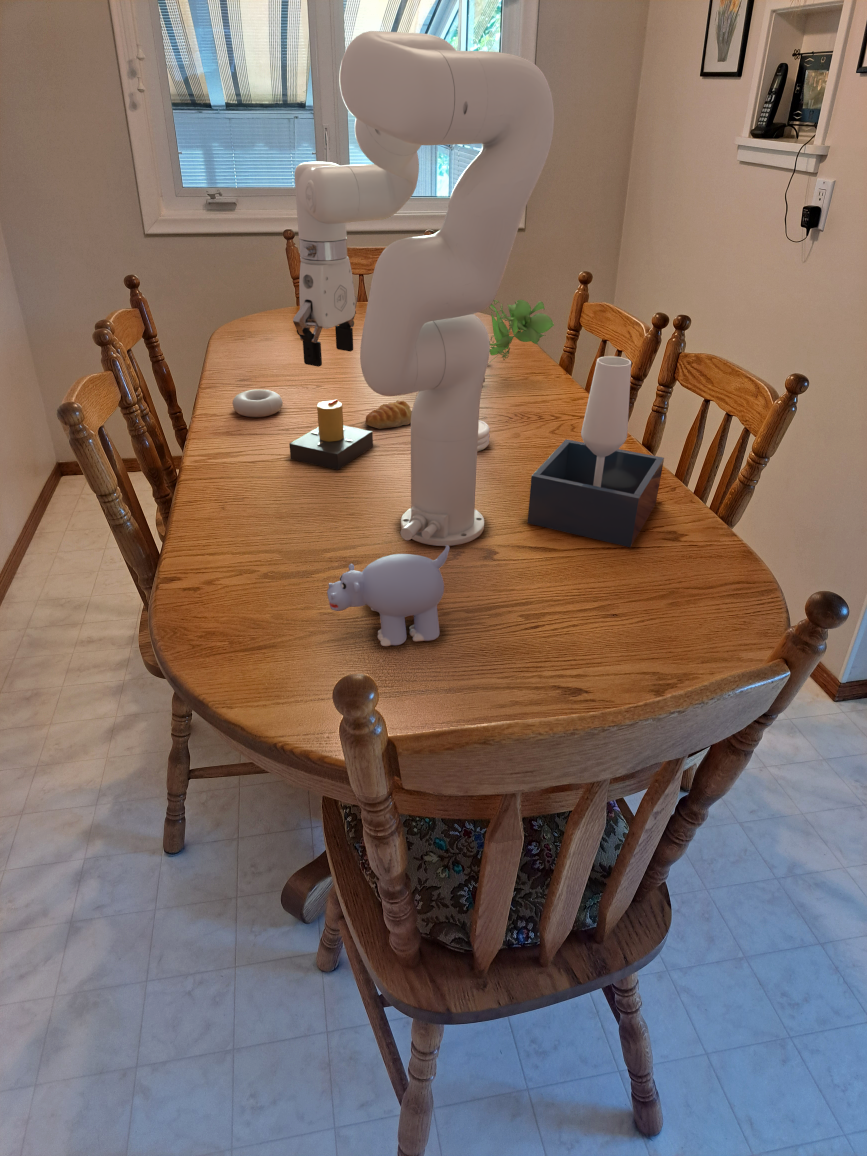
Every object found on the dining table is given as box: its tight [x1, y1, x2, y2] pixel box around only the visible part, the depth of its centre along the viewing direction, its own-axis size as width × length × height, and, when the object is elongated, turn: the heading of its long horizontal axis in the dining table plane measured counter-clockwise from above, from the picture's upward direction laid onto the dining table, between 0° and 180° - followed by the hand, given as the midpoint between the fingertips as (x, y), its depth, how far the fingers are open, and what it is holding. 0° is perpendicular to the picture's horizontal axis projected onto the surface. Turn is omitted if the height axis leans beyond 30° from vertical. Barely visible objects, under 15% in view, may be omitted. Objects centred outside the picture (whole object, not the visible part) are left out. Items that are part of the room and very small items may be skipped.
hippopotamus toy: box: [326, 545, 451, 647], centre depth 94 cm, size 11×15×10 cm
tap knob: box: [316, 399, 344, 442], centre depth 138 cm, size 4×4×6 cm
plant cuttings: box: [483, 299, 555, 383], centre depth 174 cm, size 35×17×22 cm
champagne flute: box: [580, 355, 632, 487], centre depth 115 cm, size 7×7×24 cm
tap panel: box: [288, 424, 374, 471], centre depth 140 cm, size 12×10×3 cm
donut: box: [232, 388, 283, 418], centre depth 158 cm, size 10×4×10 cm
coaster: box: [477, 419, 491, 452], centre depth 144 cm, size 10×10×4 cm
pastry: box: [364, 400, 412, 430], centre depth 153 cm, size 9×7×4 cm
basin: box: [527, 439, 665, 548], centre depth 120 cm, size 16×16×8 cm
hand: (329, 357), depth 133 cm, fingers open, 9 cm apart
